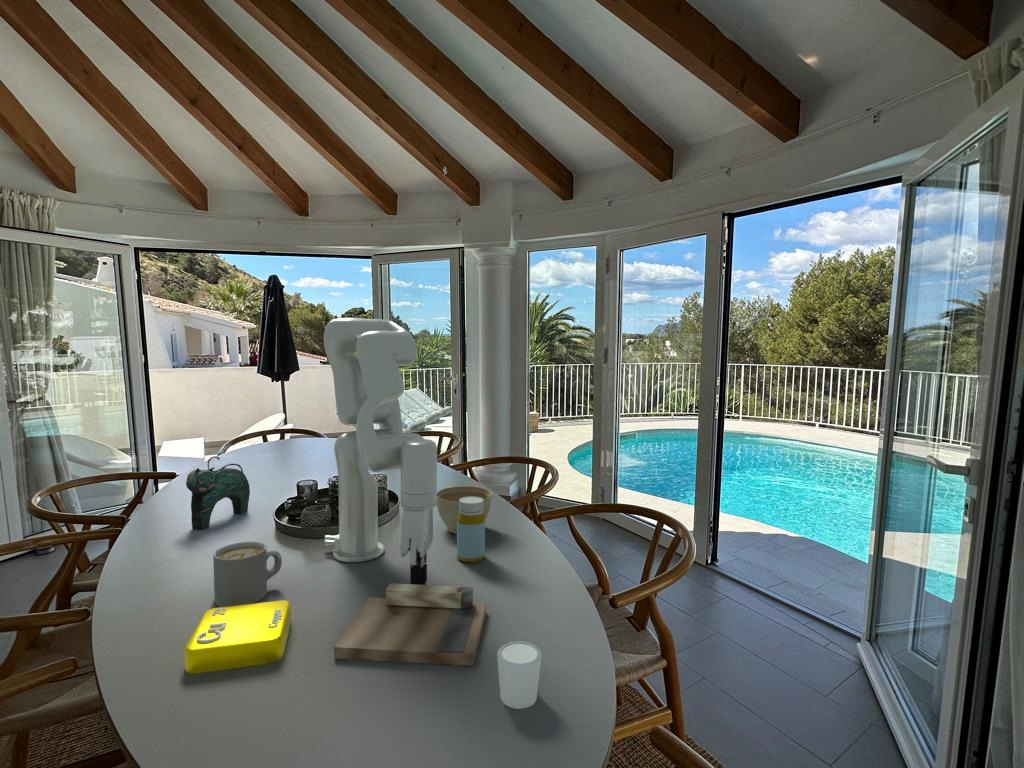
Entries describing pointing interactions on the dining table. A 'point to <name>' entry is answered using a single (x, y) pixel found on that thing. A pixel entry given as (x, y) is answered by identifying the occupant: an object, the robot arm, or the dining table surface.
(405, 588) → the folding leg
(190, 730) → the dining table surface
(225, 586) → the coffee mug
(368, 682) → the dining table surface
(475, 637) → the stool seat
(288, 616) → the element tile
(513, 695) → the shot glass
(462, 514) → the bottle
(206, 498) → the ceramic cat
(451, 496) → the planter bowl
